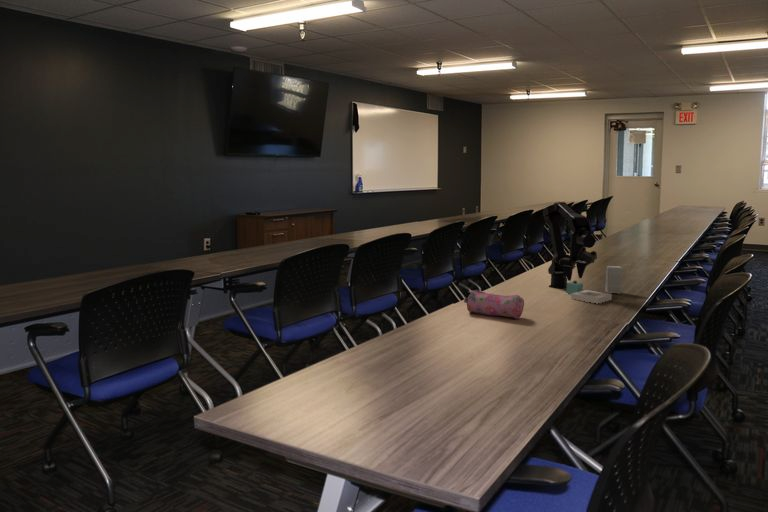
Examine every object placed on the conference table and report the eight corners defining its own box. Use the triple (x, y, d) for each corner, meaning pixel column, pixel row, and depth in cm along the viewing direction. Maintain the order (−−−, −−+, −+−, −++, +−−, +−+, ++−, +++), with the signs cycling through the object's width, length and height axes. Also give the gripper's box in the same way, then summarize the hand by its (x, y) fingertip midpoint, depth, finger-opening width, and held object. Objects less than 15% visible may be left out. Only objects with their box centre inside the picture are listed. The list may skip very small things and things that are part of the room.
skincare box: (618, 292, 276) (620, 266, 275) (621, 294, 272) (622, 267, 270) (604, 291, 277) (606, 265, 275) (607, 293, 273) (608, 267, 271)
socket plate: (571, 299, 260) (571, 293, 260) (585, 295, 268) (585, 289, 268) (597, 304, 251) (597, 298, 251) (611, 300, 259) (611, 294, 259)
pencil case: (463, 314, 233) (463, 291, 231) (473, 309, 240) (473, 287, 239) (516, 322, 221) (517, 298, 220) (525, 317, 229) (526, 293, 228)
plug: (566, 293, 271) (566, 280, 270) (572, 292, 275) (572, 279, 274) (576, 295, 268) (577, 282, 267) (582, 294, 271) (582, 281, 270)
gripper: (582, 248, 256) (580, 284, 258) (604, 244, 268) (602, 279, 271) (559, 245, 264) (557, 280, 266) (581, 242, 276) (579, 275, 279)
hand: (574, 279), depth 270 cm, fingers open, 9 cm apart
